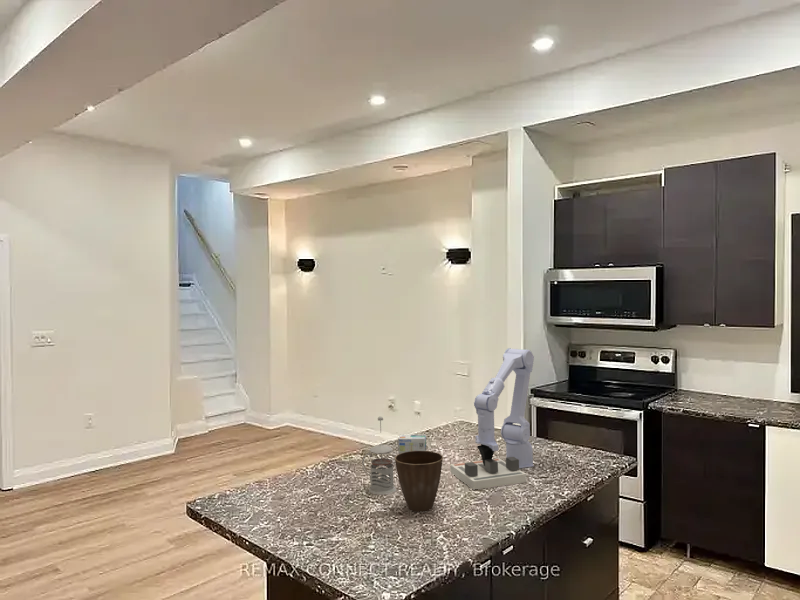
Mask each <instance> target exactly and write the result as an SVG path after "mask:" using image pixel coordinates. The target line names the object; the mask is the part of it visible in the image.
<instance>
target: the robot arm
mask: <svg viewBox="0 0 800 600" xmlns="http://www.w3.org/2000/svg"><path fill="white" fill-rule="evenodd" d="M534 360H535V355H534V354H533V352H532V351H531V349H520V348H511V347H508V348H507V349H505V351H504V353H503V354H502V363H501V365H500V367H499V369H498V371H497V373H496V375H495V377H491V378H490V379H489V381H488V383H487V384H486V385H485V388H484V389H483V391H482V392H481V393H479V394H477V396H475V398H474V402H473V407H474V408H475V410H476V411H475V413H476V415H477V432H478V433H477V435H474V439H475V444H477V446H476V448H477V450H478V451H479V454H480V457H481V459H482V461H483V465H484V466H485V460H488V459H493V457H494V454H495V452H497V451H498V452H499V444H498V442H496V438H495V410H496V409H497V407H498V402H499V397H500V395H501V394H502V392H503V390H504V389H505V383H504V382H505V381H506V380H507V379H508V377H509V376H510V374H512V372H514V374H515V381H514V387H513V393H512V400H511V401H512V402H511V407H510V413H509V415H508V416H506V417H505V418H504V419H503V424H502V426H501V429H500V435H501V438H502V439H503V440H504V441H503V442H505V456H506V457H505V459H506V458H507V457H515V458H517V459H518V460H519V469H524V468H526V469H527V468H531V467H535V465H534V463H533V462H534V457H533V456H534V453H533V446H532V443H531V442H530V441H529V439H530V438H531V430H530V425H531V423H530V422H529V421H528V420H527V418H525V414H526V407H527V406H526V405H527V400H528V393H529V392H528V391H529V385H530V377H531V373H532V372H533V367H534Z"/></svg>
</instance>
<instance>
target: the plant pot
mask: <svg viewBox="0 0 800 600" xmlns="http://www.w3.org/2000/svg"><path fill="white" fill-rule="evenodd" d="M443 459H444V457H443V455H442V454H441V453H439V452H436V451H430V450H429V451H428V450H427V451H409V452H404V453H401V454H399V453H398V454H396V456H395V457H394V463H395V468H396V474H397V478H398V482H399V485H400V490H401V493H402V496H403V498H404V500H405V503H406V505H407V508H408V510H409V511H411V512H414V513H425V512H426V513H427V512H429V511H431V510H432V509H433V506H434V503H435V501H436V498H437V494H438V489H439V485H440V480H441V477H442V470H443V469H442V468H443Z"/></svg>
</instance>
